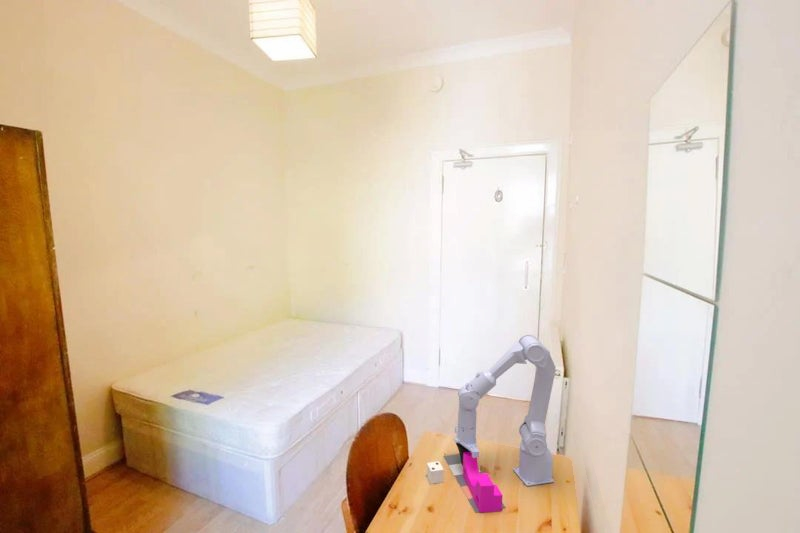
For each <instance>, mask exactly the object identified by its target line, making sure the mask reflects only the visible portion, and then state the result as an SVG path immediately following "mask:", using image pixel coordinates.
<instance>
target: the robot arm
mask: <svg viewBox="0 0 800 533" xmlns="http://www.w3.org/2000/svg"><path fill="white" fill-rule="evenodd" d="M526 360H527V361H528V362H529V363H531V364H532V365H534V366H535V367H536V371H535V377H534V379H533V380H534V382H533V386H532V392H531V396H530V403H529V407H528V412H527V415H525V416H524V419H523V422H522V423H521V424H520V426H519V428H518V429H519V430H518V432H519V435H520V437H521V439H522V440H521V442H520V444H519V455H518V457H519V460H518V467H517V466H516V467H513V468H512V470H513V472H514V473H515V474H516V475H517V476H518V477H519V479H520V481H521V482H522V483H523V484H524V485H525V486H526V487H531V486H538V485H542V484H550V483H554V482H555V481H554V480H555V479H553V467H554V458H553V455H552V452H551V450H550V449H549V447H548V443H547V430H546V421H547V414H548V409H549V404H550V400H551V395H552V389H553V385H554V380H555V374H556V370H557V369H556V367H557V366H556V365H555V362H554V361H553V360H554V359H553V358H552V355H551V352H550V351H549V349H547V347H546V346H544V344H542V342H541V341H540V340H539V339H538V338H537V337H536V336H534V335H533V334H525V335H522V336H520V338H519V339H518V340H517V341H515V342H514V343H513V344H512V345H511V347H510V348H509V349H508V350H507V351H506V352H505V353H504V354H503V355H502V356H501V357H500V358H499V359H498V360H497V361H496V362H495V363H494V364H493V365H492V366H491V367H490V368H489V369H488V370H487V369H486V370H485V369H484V370H481V371H477V372H476V374H475V377H473V379H472V380H470V381H469V382H466V383H465V385H463V386H461V387H460V388H459V390H458V391H457V396H458V410H457V425H455V426H454V433H455V434H456V437H454V438H453V441H454V443H455V445H456V447H457V450H458V452H459V453H458V454H460V459H461V464H462V466H463V452H471V453H472V457H473V458H477V459H478V458H480V450H479V449H478V442H477V408H478V407H479V404H480V403H479V402H480V400H481V399H482V398H483V397H485V396H486V395H487V393H489V392H490V391H491V390H492V389H493V388H494V387H496V386H497V379H498V378H500V377H501V376H502V375H503V374H505V373H506V372H507V371H508V370H509V369H511V368H512V367H513V366H515V365H516V364H523V365H524V364H525V365H526V364H528V363H527V361H526Z"/></svg>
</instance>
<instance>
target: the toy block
mask: <svg viewBox="0 0 800 533" xmlns="http://www.w3.org/2000/svg"><path fill="white" fill-rule="evenodd" d="M478 462H479V461H478V457H477V458H473V457H472V453H471V452H463V477H464V479H465V481H466V484H467V486H468V488H469V490H470V492H471V495H472V497H473V499H474V501H475V503H476V505H477V508H478V510H479V513H480V514H481V513H491V512H492V513H493V512H502V511H503V508H502V503H503V494H502V492H501V490H500V488H499V487H498V485H497V484H494V482H493V481H492V478H490V475H489V473H488V472H483V473H481V474H480V472H479V469H480V468H479V463H478Z"/></svg>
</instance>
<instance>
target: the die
mask: <svg viewBox="0 0 800 533" xmlns="http://www.w3.org/2000/svg"><path fill="white" fill-rule="evenodd" d="M444 472H445V471H444V467H443V466H442V464H441V462H440V461H431V462H430V461H429V462H427V463H426V477H427V479H428V481H429V484H430V485H432V484H439V483H444Z"/></svg>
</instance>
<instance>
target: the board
mask: <svg viewBox="0 0 800 533" xmlns="http://www.w3.org/2000/svg"><path fill="white" fill-rule="evenodd" d="M443 459H444V460H445V462H446V464H447V465H448V467H449V469H450V471H451V473H452V474H453V475H454V478H455V477H456V478H455V479H456V481H457V483H458V485H459V486H460V488H461V490H462V492H463V493H464V495H465V497H466V499H467V501H468V502H469V504H470V506H471V508H472V510H473V512H474V513H475V514H478V513H480V512H479V510H478V508H477V505H476V503H475V501H474V499H473V497H472V495H471V492H470V490H469V488H468V486H467V484H466V481H465V479H464V477H463V466H462V464H461V459H460V454H459V453H457V454H448V455H446V454H445V455H444V456H443ZM479 472H480V474H481V473H482V471H481V469H480V468H479ZM502 509H506V505H505V504H504V503H503V502H502Z"/></svg>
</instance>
